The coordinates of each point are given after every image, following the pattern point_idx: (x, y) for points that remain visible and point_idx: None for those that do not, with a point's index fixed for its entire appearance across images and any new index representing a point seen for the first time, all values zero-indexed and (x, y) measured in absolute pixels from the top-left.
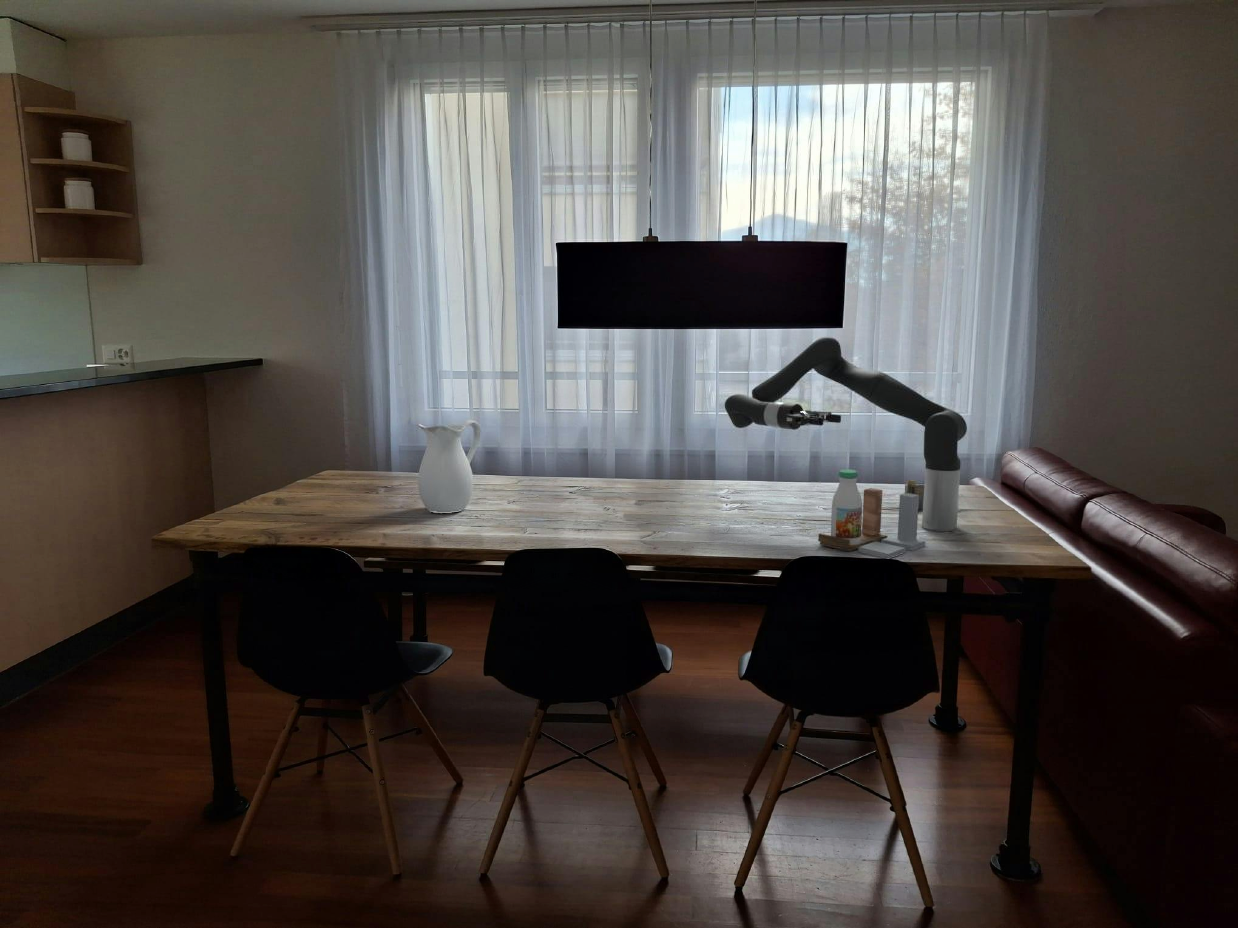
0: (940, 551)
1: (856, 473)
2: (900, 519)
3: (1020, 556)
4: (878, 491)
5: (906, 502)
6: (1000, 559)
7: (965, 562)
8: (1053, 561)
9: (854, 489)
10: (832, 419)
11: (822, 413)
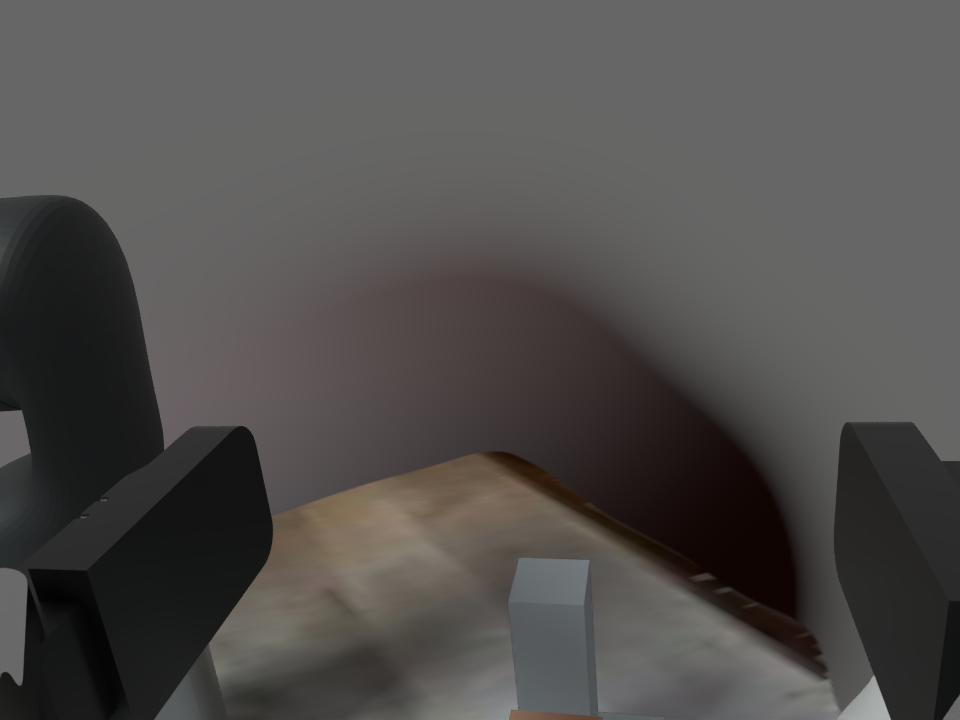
0: None
1: None
2: (591, 709)
3: (474, 525)
4: (561, 716)
5: (588, 608)
6: (545, 542)
7: (659, 581)
8: (474, 481)
9: None
10: (188, 597)
11: (10, 683)
